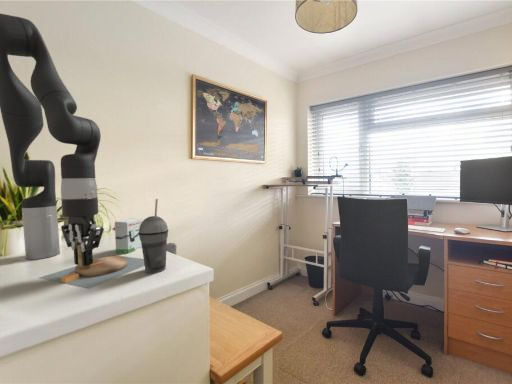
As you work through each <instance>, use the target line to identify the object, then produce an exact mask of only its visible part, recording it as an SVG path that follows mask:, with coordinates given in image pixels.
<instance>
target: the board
mask: <svg viewBox="0 0 512 384" xmlns="http://www.w3.org/2000/svg"><path fill="white" fill-rule="evenodd" d="M112 256H118V255H116V254H111V255H108V256H106V257H112ZM120 256H121V257H125V258H127V266H126V267H125V268H124V269H122V270H119V271H117V272H114V273H110V274H106V275H101V276H94V277H80V276H79V274H76V273H75V267H76V266H77V265H75V266H72V267H69V268H66V269H61V270H59V271H57V272H53V273H50V274H47V275H46V274H45V275H43V276H40V277H39V279H43V280H48V281H52V282H57V283H61V284H67V285H70V286H75V287H79V288H84V289H91V288H93V287H96V286H98V285H101V284H103V283H106V282H109V281H110V280H113V279H116V278H119V277H121V276H124V275H126V274H128V273H131V272H133V271H136V270H138V269H140V268H143V267H145V264H144V258H139V257H132V256H126V255H125V256H123V255H120Z"/></svg>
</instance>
